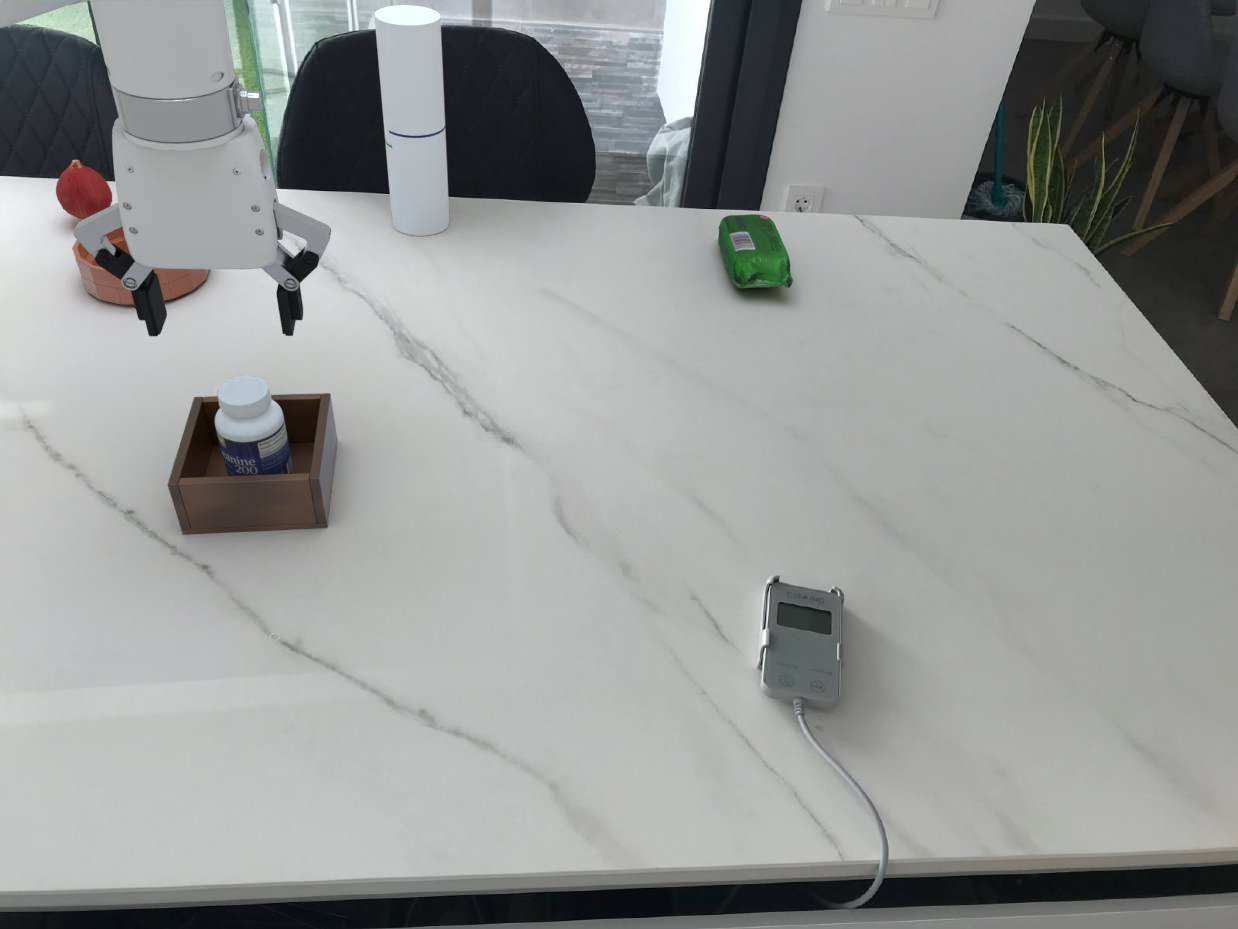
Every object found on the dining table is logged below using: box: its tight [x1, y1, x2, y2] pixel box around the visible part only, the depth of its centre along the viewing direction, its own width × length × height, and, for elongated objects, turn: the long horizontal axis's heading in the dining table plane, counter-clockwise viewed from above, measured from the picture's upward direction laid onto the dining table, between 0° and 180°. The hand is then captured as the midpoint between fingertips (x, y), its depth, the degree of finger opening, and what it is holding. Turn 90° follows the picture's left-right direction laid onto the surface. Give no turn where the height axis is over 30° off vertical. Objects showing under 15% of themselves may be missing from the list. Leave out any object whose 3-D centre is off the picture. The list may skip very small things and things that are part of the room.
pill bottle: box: [215, 375, 294, 476], centre depth 82 cm, size 5×5×10 cm
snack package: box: [717, 213, 795, 289], centre depth 119 cm, size 7×16×5 cm, turn 4°
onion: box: [55, 159, 113, 221], centre depth 116 cm, size 6×6×8 cm
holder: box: [167, 392, 338, 535], centre depth 84 cm, size 12×12×6 cm
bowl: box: [71, 226, 210, 305], centre depth 109 cm, size 13×13×4 cm
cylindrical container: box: [373, 4, 450, 237], centre depth 116 cm, size 7×7×25 cm
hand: (225, 326), depth 75 cm, fingers open, 9 cm apart
